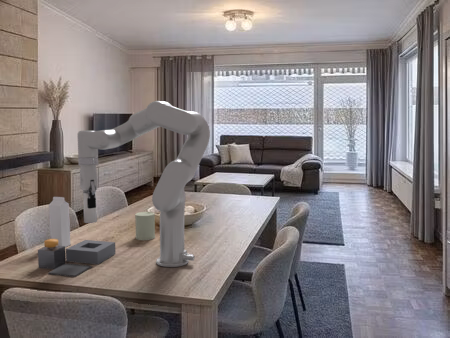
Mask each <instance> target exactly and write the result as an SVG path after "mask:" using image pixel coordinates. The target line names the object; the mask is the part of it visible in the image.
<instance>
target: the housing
mask: <svg viewBox="0 0 450 338" xmlns="http://www.w3.org/2000/svg"><path fill="white" fill-rule="evenodd" d="M116 253H117V252H116V241H115V242H114V241H104V240H89V239H84V240H82V241H80V242H78V243H76V244H73V245H72V246H71V245H70V246H68V248H65V256H66V263H69V262H70V263H77V264H80V263H81V264H88V265H100V264H101V263H103V262H105V261H106V260H108V259H109V258H112V257H113V256H115V255H116Z"/></svg>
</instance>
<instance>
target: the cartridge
mask: <svg viewBox="0 0 450 338" xmlns="http://www.w3.org/2000/svg"><path fill="white" fill-rule="evenodd" d="M89 190H91V189H89ZM95 195H96V196H97V191H96V192H95ZM87 198H88V192H87V191H84V190H82V202H83V223H86V224H94V223H96V222H98V212H97V210H98V209H97V204H96V208H88V205H87Z"/></svg>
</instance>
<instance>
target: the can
mask: <svg viewBox="0 0 450 338" xmlns="http://www.w3.org/2000/svg"><path fill="white" fill-rule="evenodd" d="M134 215H135V217H134V219H135V220H134V221H135V236H134V237H135V239H136V240H139V241H150V240H153V239H156V234H155V233H156V229H155V228H156V227H155V226H156V225H155V222H156V220H155V212H153V211H140V212H139V211H138V212H136V213H135V214H134Z"/></svg>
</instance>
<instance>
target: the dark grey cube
mask: <svg viewBox="0 0 450 338" xmlns="http://www.w3.org/2000/svg"><path fill="white" fill-rule="evenodd" d="M37 258H38V259H37V260H38V261H37V262H38V269H47V270H54V269H56V268H58V267H60V266H62V265H64V264H66V263H67V261H66V247H65V246H56V247H54V249H50V248H47V247H45V246H43V247H42V248H39V249H37Z"/></svg>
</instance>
